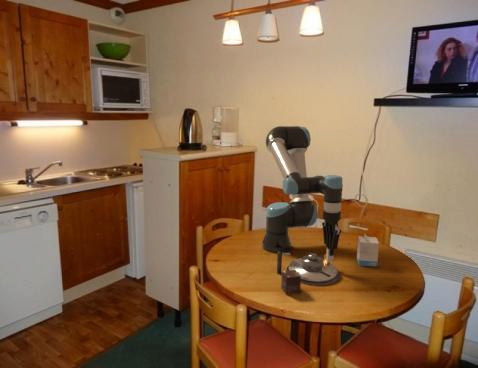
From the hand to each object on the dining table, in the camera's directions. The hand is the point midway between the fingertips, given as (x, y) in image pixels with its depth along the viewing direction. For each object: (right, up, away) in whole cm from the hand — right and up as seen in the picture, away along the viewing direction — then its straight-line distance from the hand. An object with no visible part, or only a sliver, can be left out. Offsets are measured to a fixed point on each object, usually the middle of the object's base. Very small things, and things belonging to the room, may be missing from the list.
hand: (329, 261), depth 156 cm
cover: (-9, -2, -3) cm, 9 cm away
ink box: (+20, -3, +9) cm, 22 cm away
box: (-20, -8, -17) cm, 28 cm away
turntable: (-8, -5, -2) cm, 10 cm away
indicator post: (-21, -5, -3) cm, 22 cm away
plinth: (-8, -5, -2) cm, 10 cm away
